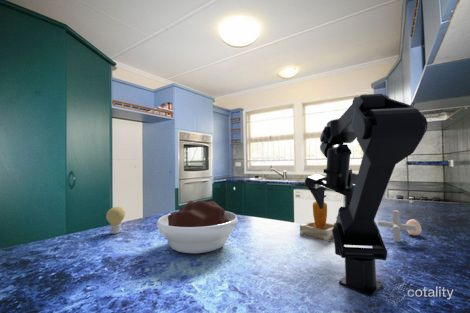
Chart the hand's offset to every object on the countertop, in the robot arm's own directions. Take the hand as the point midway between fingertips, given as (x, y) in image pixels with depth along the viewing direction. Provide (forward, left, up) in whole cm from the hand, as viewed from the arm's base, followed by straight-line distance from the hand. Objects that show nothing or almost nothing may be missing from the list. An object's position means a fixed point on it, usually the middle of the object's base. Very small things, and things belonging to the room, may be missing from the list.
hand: (334, 214), depth 66 cm
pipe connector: (+23, -9, -11) cm, 27 cm away
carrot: (+10, +11, -10) cm, 18 cm away
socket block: (+10, +11, -11) cm, 18 cm away
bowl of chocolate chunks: (-30, +30, -11) cm, 43 cm away
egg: (+35, -11, -11) cm, 39 cm away
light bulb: (-47, +65, -11) cm, 80 cm away
